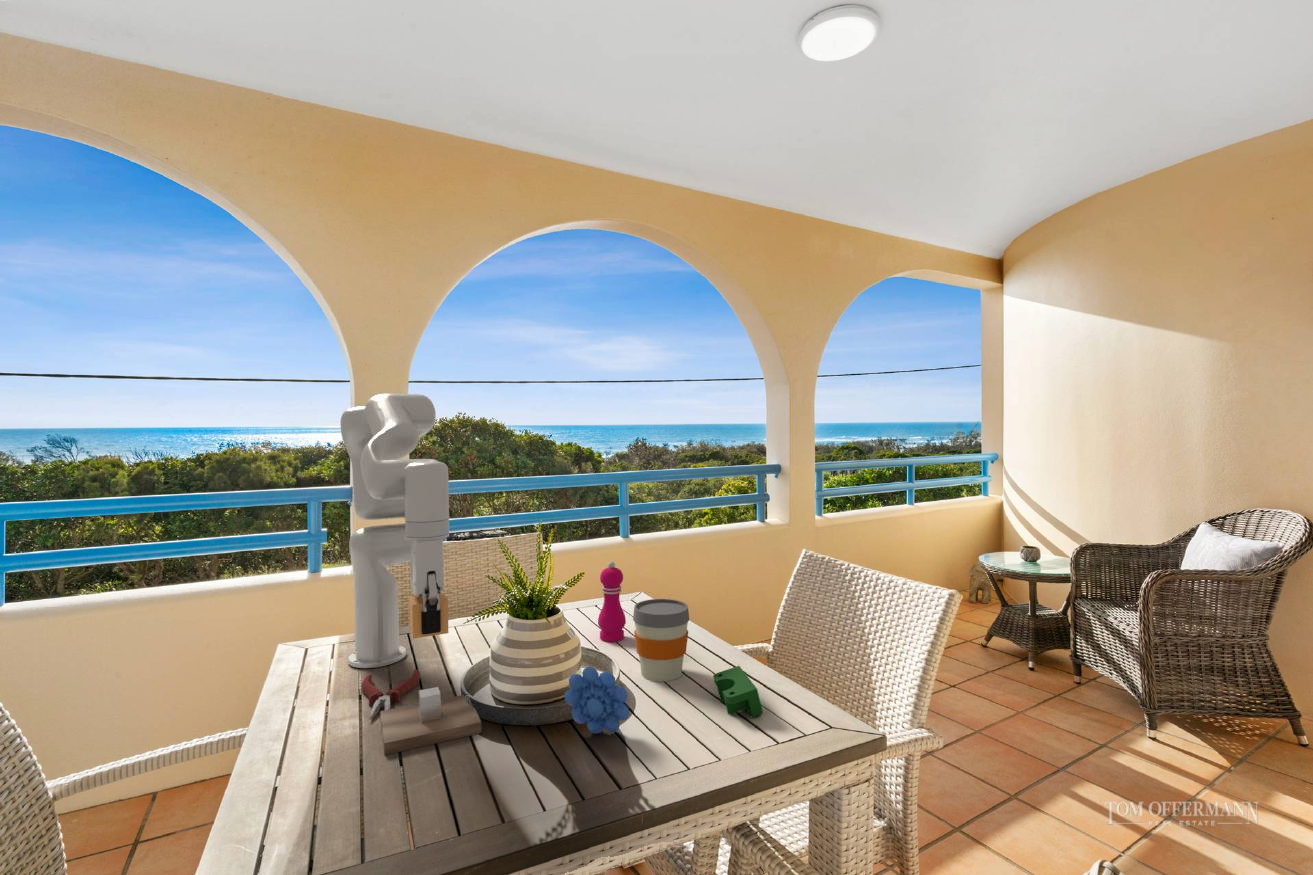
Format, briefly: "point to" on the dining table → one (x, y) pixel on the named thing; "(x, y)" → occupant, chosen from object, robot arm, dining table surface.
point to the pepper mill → (611, 605)
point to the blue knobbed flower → (597, 700)
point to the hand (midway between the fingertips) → (428, 626)
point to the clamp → (737, 691)
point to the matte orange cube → (415, 615)
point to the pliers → (391, 696)
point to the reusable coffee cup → (661, 637)
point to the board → (428, 722)
